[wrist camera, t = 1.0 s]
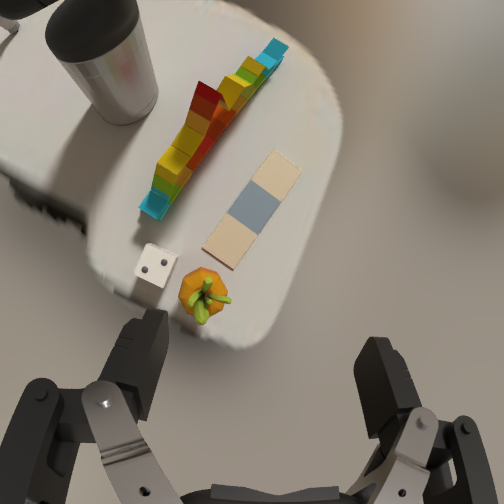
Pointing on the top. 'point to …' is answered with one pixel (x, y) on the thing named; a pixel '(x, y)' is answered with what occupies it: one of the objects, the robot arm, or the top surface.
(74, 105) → the top surface
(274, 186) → the flat strip
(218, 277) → the carrot
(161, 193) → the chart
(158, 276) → the die
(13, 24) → the lightbulb
